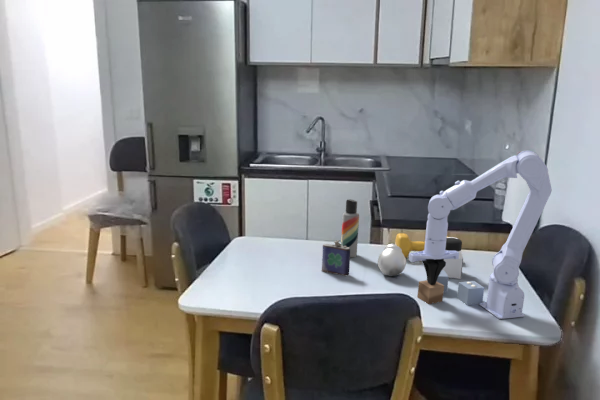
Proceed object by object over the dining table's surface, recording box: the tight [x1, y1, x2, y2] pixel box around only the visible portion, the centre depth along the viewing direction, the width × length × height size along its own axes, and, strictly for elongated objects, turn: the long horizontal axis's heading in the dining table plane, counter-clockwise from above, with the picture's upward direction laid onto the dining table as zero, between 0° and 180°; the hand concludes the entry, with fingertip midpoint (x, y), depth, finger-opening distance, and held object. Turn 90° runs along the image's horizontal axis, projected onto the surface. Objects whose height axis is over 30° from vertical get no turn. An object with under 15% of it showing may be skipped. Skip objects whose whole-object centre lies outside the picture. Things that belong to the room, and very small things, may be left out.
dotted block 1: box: [437, 270, 449, 293], centre depth 162 cm, size 5×5×5 cm
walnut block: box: [417, 279, 445, 305], centre depth 154 cm, size 5×5×5 cm
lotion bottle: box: [340, 198, 360, 259], centre depth 186 cm, size 6×6×20 cm
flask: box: [321, 239, 351, 277], centre depth 171 cm, size 9×3×11 cm, turn 65°
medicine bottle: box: [442, 236, 464, 280], centre depth 173 cm, size 7×7×12 cm
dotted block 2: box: [456, 280, 485, 306], centre depth 154 cm, size 5×5×5 cm
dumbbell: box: [394, 232, 449, 259], centre depth 189 cm, size 19×9×8 cm, turn 89°
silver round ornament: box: [377, 243, 407, 277], centre depth 171 cm, size 9×10×10 cm
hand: (431, 283), depth 153 cm, fingers closed, pressing on walnut block
